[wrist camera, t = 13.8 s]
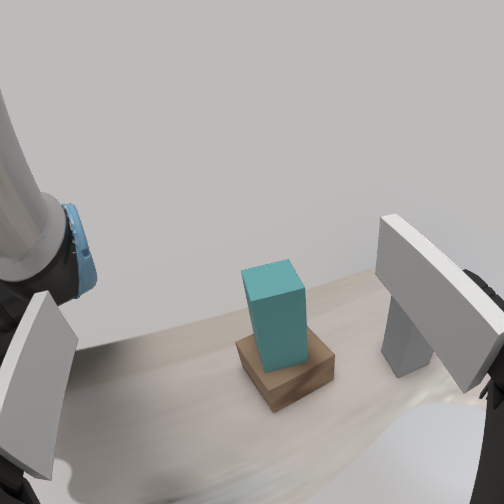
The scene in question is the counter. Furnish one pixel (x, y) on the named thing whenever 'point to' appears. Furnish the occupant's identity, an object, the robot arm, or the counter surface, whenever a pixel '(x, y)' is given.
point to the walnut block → (288, 372)
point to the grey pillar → (404, 342)
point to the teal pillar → (277, 314)
